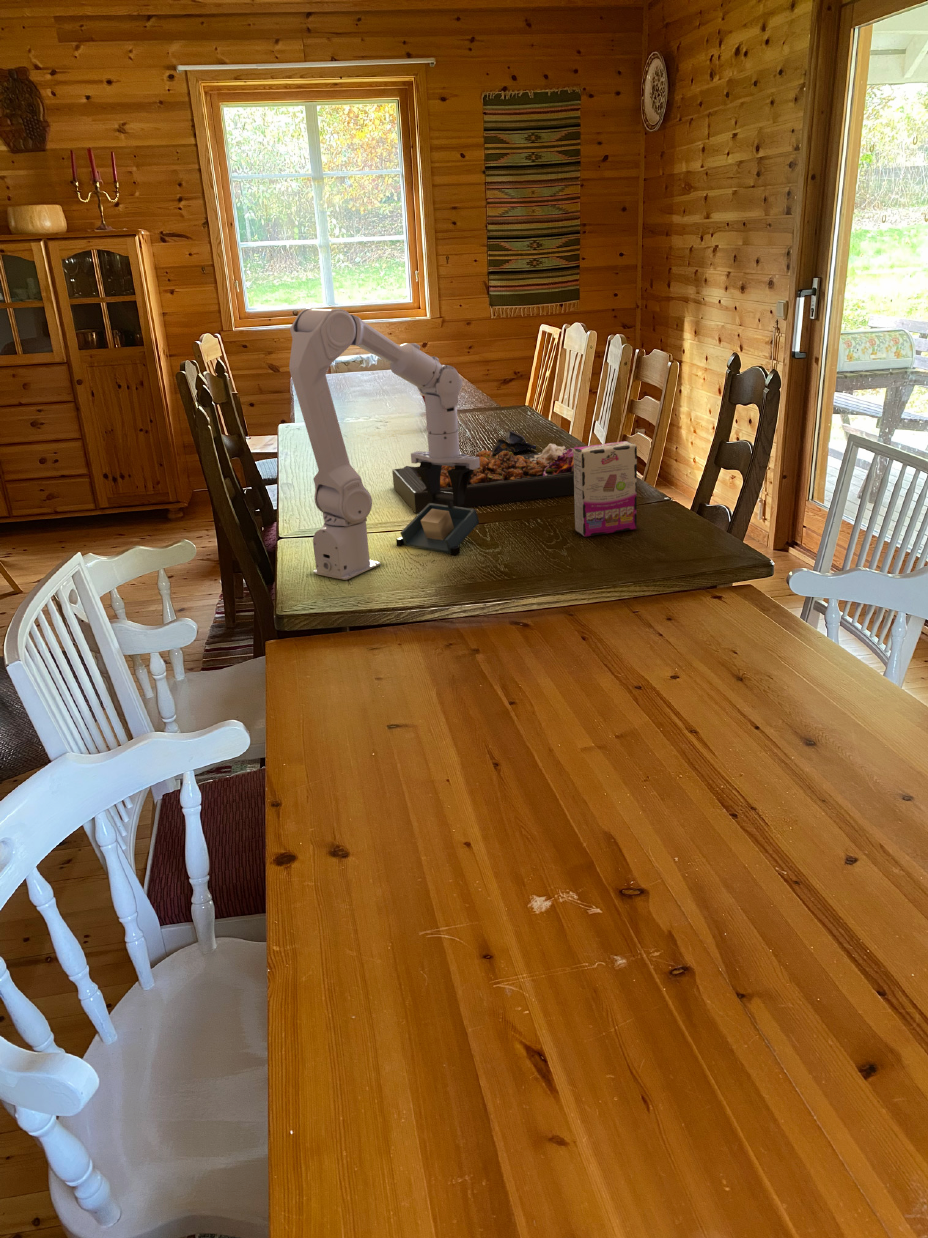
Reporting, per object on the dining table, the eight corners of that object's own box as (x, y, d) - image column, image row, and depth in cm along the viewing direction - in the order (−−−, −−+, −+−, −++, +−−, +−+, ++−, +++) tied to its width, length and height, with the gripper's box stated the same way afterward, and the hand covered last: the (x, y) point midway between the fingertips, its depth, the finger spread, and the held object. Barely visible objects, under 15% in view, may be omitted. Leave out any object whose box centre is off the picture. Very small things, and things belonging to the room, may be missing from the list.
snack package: (496, 448, 254) (487, 456, 243) (499, 425, 251) (490, 432, 241) (538, 455, 252) (531, 463, 241) (542, 432, 249) (535, 439, 238)
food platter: (571, 467, 227) (571, 425, 223) (611, 489, 205) (612, 443, 201) (393, 487, 217) (390, 444, 213) (415, 513, 195) (412, 465, 191)
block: (443, 540, 171) (437, 523, 169) (426, 537, 173) (420, 520, 171) (454, 528, 173) (448, 510, 171) (437, 525, 176) (431, 508, 173)
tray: (451, 553, 168) (442, 525, 164) (404, 545, 174) (395, 518, 170) (480, 521, 174) (472, 493, 170) (434, 514, 180) (426, 487, 176)
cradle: (455, 556, 167) (454, 548, 166) (396, 545, 174) (396, 538, 174) (460, 553, 168) (459, 546, 167) (401, 543, 176) (401, 536, 175)
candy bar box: (625, 523, 180) (627, 439, 174) (637, 529, 176) (638, 444, 169) (573, 530, 177) (572, 446, 171) (583, 537, 173) (582, 451, 167)
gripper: (487, 429, 167) (490, 501, 172) (424, 424, 175) (429, 494, 181) (465, 437, 162) (469, 511, 167) (401, 431, 170) (407, 502, 175)
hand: (447, 503), depth 174 cm, fingers closed on tray, 5 cm apart
